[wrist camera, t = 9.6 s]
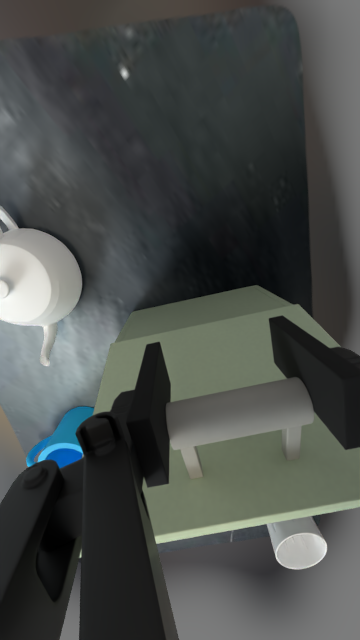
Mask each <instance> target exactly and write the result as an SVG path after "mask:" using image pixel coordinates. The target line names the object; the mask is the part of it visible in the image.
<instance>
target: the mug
mask: <svg viewBox="0 0 360 640" xmlns="http://www.w3.org/2000/svg"><path fill="white" fill-rule="evenodd" d="M93 412H94V408H92V407H87V406H83V407H76V408H74V409H71V410H70V411H68V412H67V413H66V414H65V416H64V417H63V419H62V420H61V422H60V424H59V425H58V427H57V428H56V430H55V432H54V433H53V435H52V436H49V437H47V438H46V439H44V440H42V441H41V442H39V443H38V444H37V445H35V446H34V447H33V448H32V450H31V451H30V452H29V453H28V456H27V458H26V461H27V465H28V467H30V466H32V465H33V464H35V462H34V457H35V456H36V455H37V453H38V452H39V451H41V450H42V449H43V448H44V447H45V448H44V449H43V451H42V453H41V454H40V456H39V458H38V462H40V461H43V460H50V459H51V460H54V461H56V462H57V464H58V466H59V469H60V468H62V467H64V466H66V465H69V464H71V463H73V462H75V461H78V460H79V459H81V458H82V455H83V452H82V449H81V447H80V444H79V442H78V439H77V437H76V434H75V433H76V430H77V428H78V427H79V425H80V424H81V423H82V422H83V421H85V420H86V419H87V418H89V417H91V416H93Z"/></svg>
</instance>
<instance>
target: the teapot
mask: <svg viewBox="0 0 360 640" xmlns="http://www.w3.org/2000/svg"><path fill="white" fill-rule="evenodd" d="M0 219H1V220H2V221H3V222H4V223H5V224H6V225H7V228H8V229H9V231H7V232H5V233H3V232H2V230H1V228H0V319H1V320H3V321H5V322H8V323H12V324H16V325H25V326H42V327H43V329H44V342H43V346H42V351H41V356H40V362H41V364H43V365H44V366H49V365H50V362H49V355H50V351H51V349H52V347H53V344H54V342H55V338H56V335H57V322H58V321H59V320H61V319H63V318H64V317H66V316H67V315H68V314H69V313H70V312H71V311H72V310H73V309H74V308H75V306H76V304H77V303H78V300H79V298H80V295H81V290H82V275H81V272H80V268H79V266H78V263H77V261H76V259H75V258H74V256H73V254H72V253H71V252H70V250H69V249H68V248H67V247H66V246H65V245H64V244H63V243H62V242H60V241H59V240H58V239H56V238H55V237H53V236H51V235H49V234H47V233H45V232H42V231H39V230H35V229H27V228H21V229H19V228H18V226H17V224H16V223H15V221H14V220H13V219H12V218H11V216H10V215H9V214H8V213H7V212H6V211H5V210H4V208H3V207H2V206H1V205H0Z"/></svg>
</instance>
